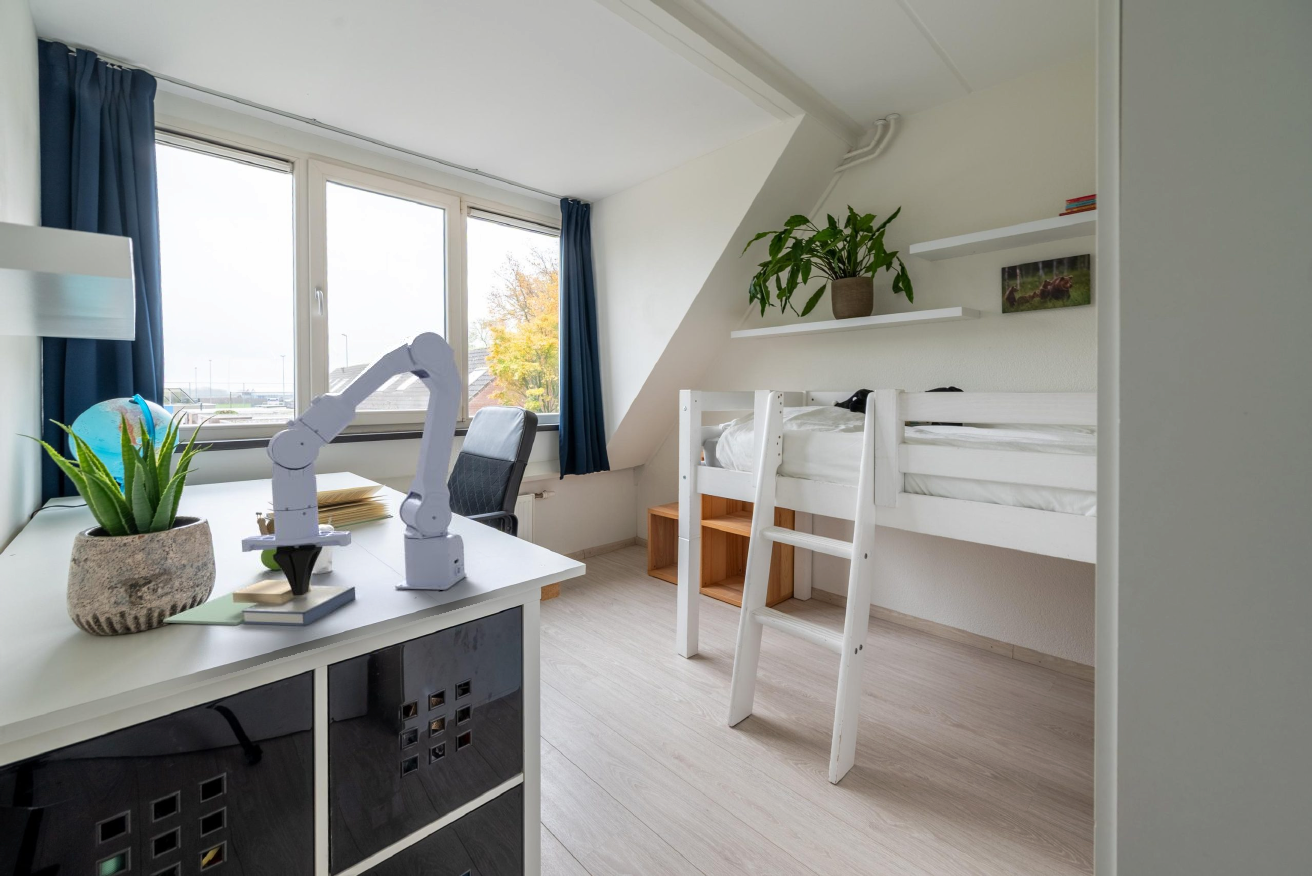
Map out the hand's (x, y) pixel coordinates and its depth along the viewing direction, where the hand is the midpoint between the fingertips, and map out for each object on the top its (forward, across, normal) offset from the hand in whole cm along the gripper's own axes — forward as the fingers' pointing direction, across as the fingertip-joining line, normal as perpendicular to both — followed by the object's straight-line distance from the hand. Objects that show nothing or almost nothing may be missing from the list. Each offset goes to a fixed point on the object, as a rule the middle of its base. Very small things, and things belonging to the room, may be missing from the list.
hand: (300, 593), depth 84 cm
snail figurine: (+3, +14, -24) cm, 28 cm away
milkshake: (+3, +5, -21) cm, 22 cm away
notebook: (+3, 0, 0) cm, 3 cm away
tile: (+1, +5, -2) cm, 5 cm away
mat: (+3, +11, -3) cm, 12 cm away
